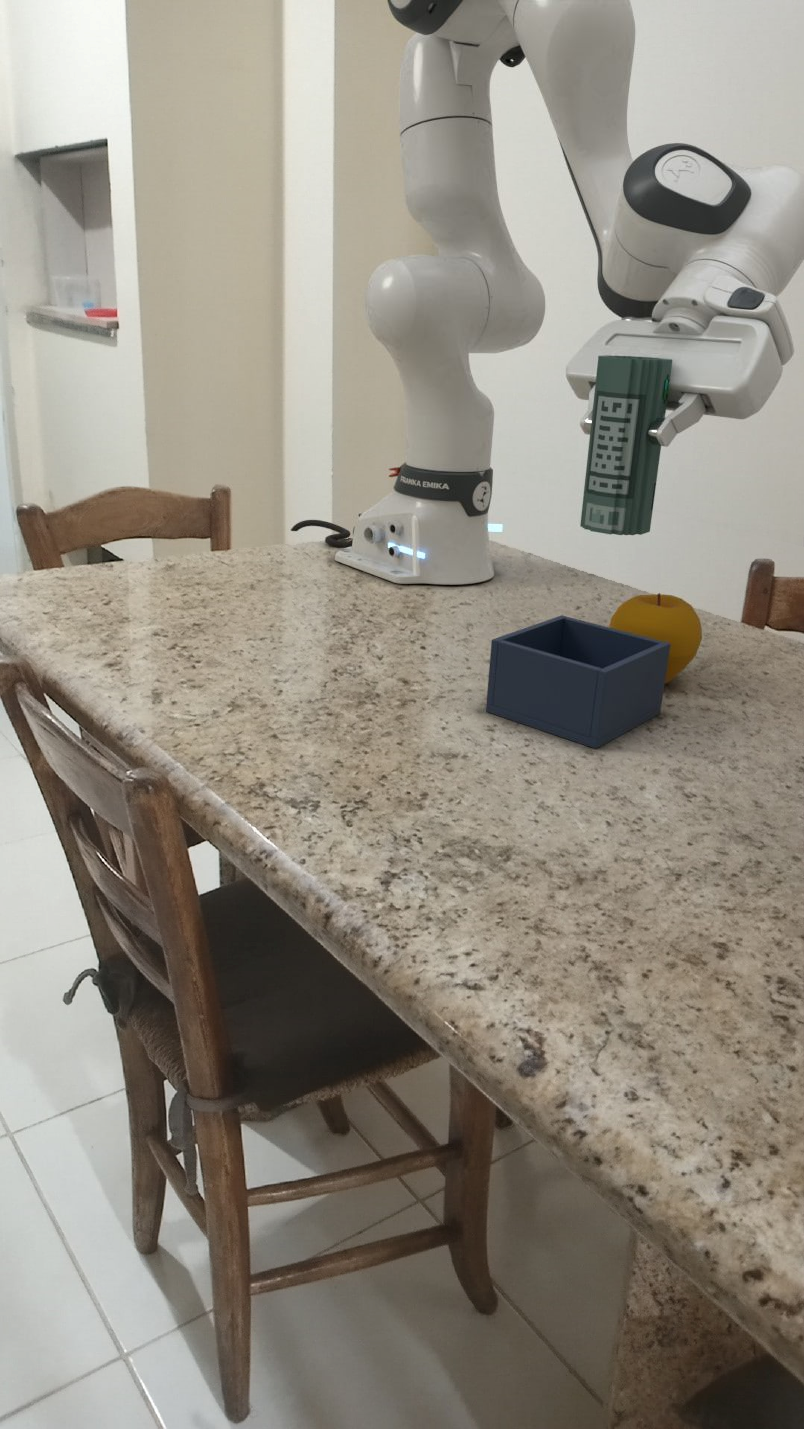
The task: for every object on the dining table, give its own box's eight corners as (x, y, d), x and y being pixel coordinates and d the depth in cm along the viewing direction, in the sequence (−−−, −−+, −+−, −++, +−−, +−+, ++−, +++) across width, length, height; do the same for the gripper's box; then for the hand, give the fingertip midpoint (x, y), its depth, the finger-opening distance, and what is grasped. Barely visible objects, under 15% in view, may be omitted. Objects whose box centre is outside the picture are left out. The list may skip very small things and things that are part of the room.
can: (658, 528, 96) (681, 359, 90) (631, 538, 91) (653, 360, 86) (599, 519, 99) (618, 355, 93) (570, 527, 94) (588, 355, 89)
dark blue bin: (485, 711, 92) (491, 639, 89) (554, 681, 100) (561, 615, 97) (596, 749, 85) (606, 672, 83) (660, 714, 93) (671, 643, 91)
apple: (636, 659, 107) (647, 576, 104) (712, 683, 102) (727, 596, 98) (585, 677, 102) (595, 589, 98) (663, 703, 96) (677, 611, 92)
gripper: (602, 292, 99) (522, 399, 97) (793, 297, 85) (705, 423, 82) (625, 341, 103) (550, 445, 101) (811, 354, 89) (728, 475, 87)
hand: (621, 435), depth 92 cm, fingers closed on can, 6 cm apart
